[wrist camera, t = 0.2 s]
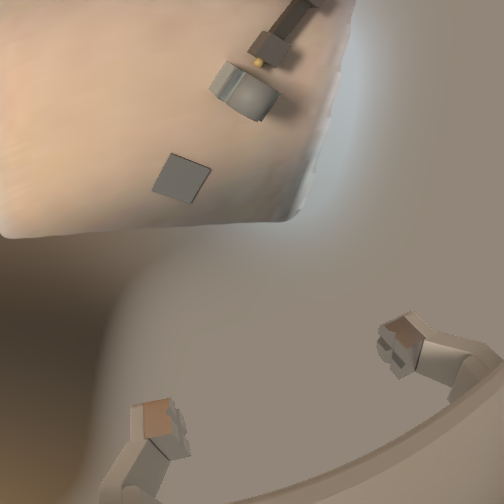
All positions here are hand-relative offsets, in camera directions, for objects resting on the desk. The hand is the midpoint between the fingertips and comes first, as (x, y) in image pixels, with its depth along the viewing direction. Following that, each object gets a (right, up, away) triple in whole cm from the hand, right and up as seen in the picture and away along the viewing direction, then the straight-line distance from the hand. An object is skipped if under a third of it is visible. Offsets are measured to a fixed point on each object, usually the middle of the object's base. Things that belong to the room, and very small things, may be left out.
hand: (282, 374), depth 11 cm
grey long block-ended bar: (+4, +45, +34) cm, 57 cm away
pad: (-16, +19, +50) cm, 56 cm away
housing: (-4, +35, +40) cm, 53 cm away
